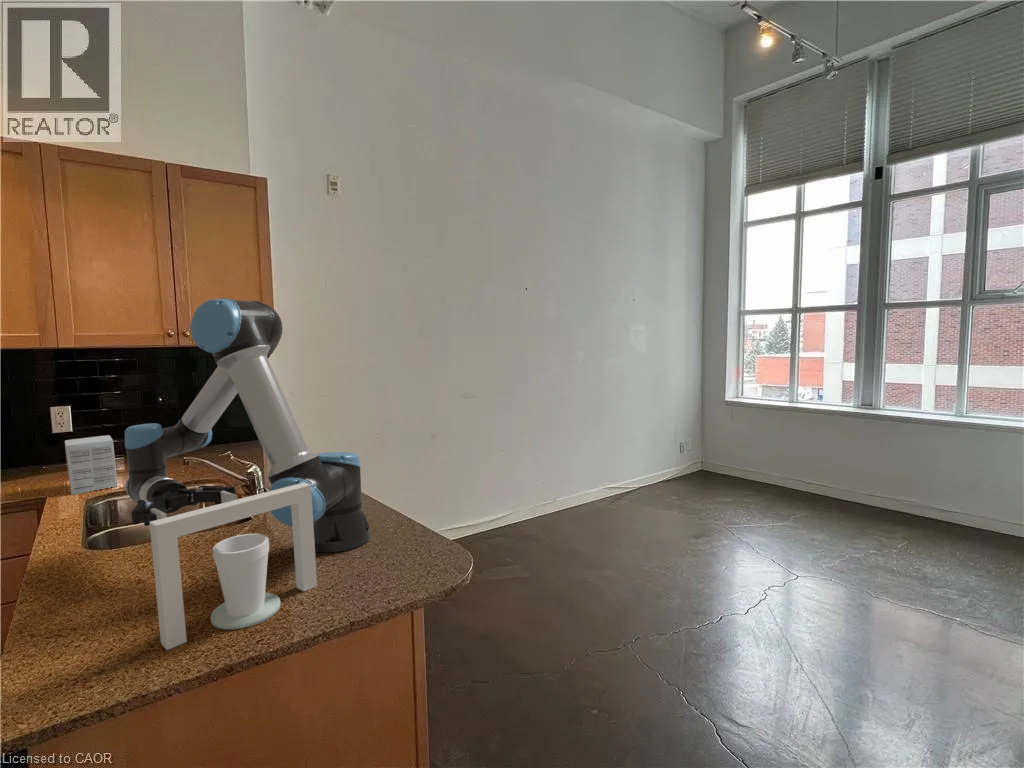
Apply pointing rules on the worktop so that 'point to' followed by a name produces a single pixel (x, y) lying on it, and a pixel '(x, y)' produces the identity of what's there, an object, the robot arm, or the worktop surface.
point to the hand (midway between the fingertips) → (202, 510)
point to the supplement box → (90, 464)
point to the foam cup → (242, 572)
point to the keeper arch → (201, 519)
